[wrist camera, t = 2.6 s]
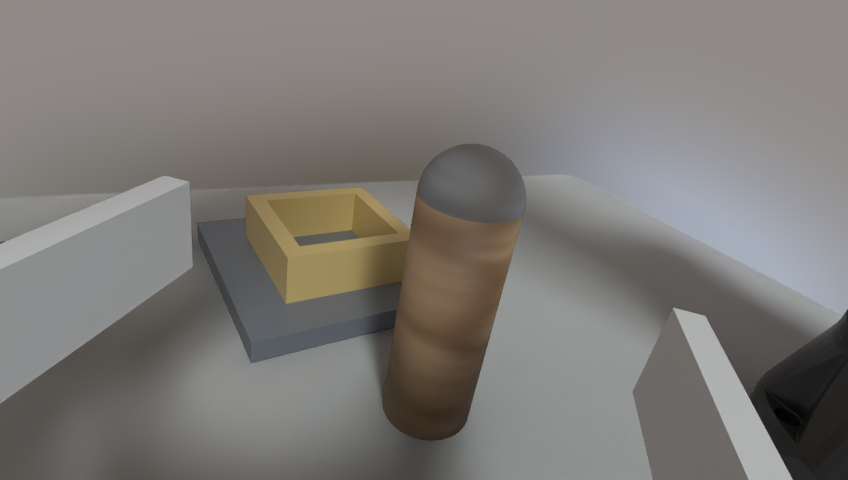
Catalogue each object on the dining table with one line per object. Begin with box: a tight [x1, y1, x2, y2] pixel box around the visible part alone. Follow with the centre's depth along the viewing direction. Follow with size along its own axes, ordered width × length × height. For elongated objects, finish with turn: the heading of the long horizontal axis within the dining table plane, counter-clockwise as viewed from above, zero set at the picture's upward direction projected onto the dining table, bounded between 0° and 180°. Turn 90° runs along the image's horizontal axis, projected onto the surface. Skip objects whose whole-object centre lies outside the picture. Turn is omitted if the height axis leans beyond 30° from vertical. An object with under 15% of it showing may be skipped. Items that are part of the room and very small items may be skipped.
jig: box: [197, 187, 410, 363], centre depth 38 cm, size 16×16×5 cm
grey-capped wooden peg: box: [383, 144, 526, 440], centre depth 25 cm, size 5×5×16 cm
